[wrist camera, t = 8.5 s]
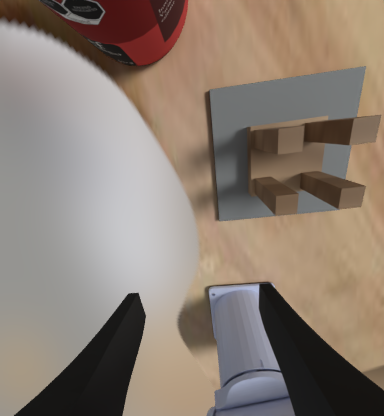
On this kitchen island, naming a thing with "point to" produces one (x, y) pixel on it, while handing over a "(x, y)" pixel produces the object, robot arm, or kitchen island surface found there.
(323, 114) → the mat
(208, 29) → the kitchen island surface
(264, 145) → the stool
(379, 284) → the kitchen island surface
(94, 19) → the canned food
